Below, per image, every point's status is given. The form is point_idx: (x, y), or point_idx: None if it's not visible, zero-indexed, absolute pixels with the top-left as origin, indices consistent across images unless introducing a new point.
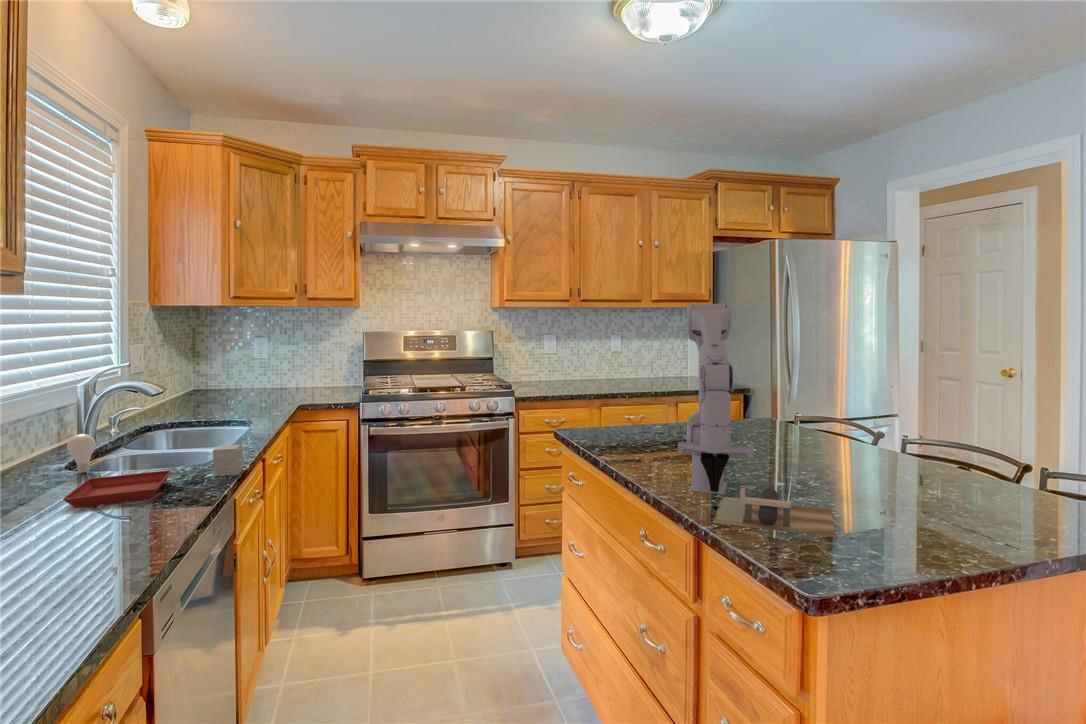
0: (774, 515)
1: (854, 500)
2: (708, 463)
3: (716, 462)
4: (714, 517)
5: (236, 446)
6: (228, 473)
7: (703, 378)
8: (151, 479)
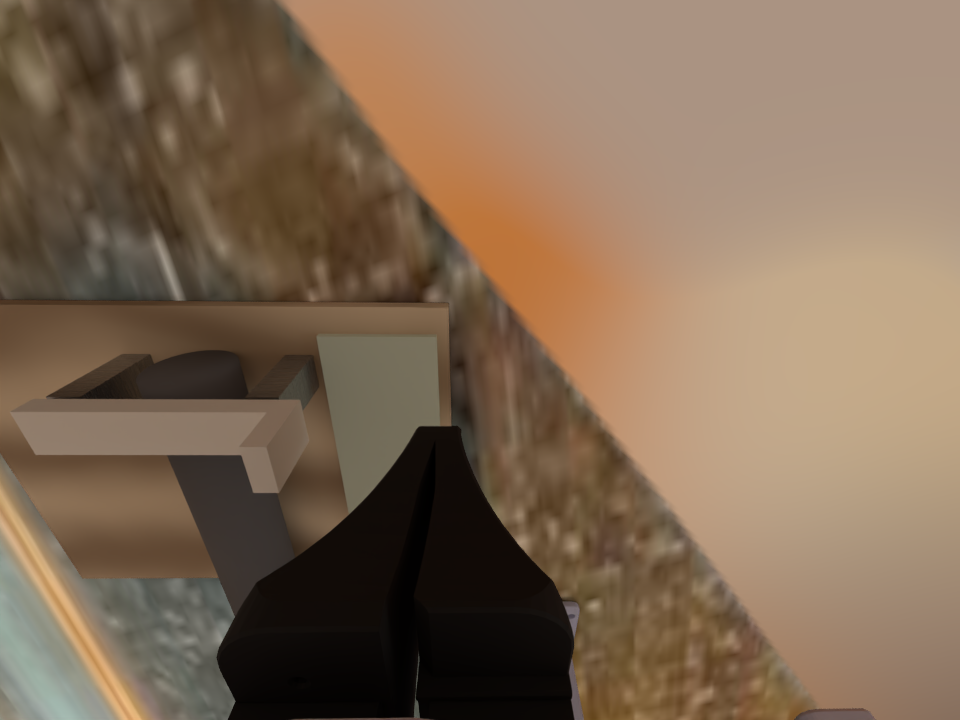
0: (150, 373)
1: (73, 660)
2: (466, 575)
3: (364, 590)
4: (449, 370)
5: None
6: None
7: None
8: None
